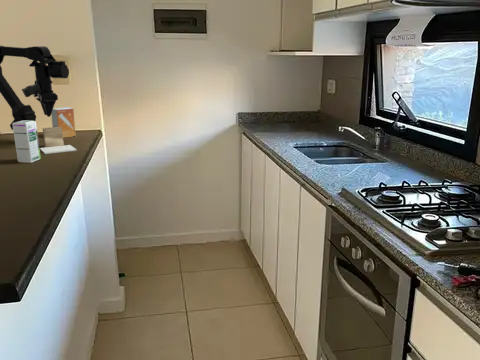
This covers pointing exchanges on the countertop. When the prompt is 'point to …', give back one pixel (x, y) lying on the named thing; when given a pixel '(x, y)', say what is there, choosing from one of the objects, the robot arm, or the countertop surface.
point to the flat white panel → (57, 149)
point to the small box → (64, 120)
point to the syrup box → (26, 141)
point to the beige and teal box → (53, 137)
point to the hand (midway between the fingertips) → (47, 115)
